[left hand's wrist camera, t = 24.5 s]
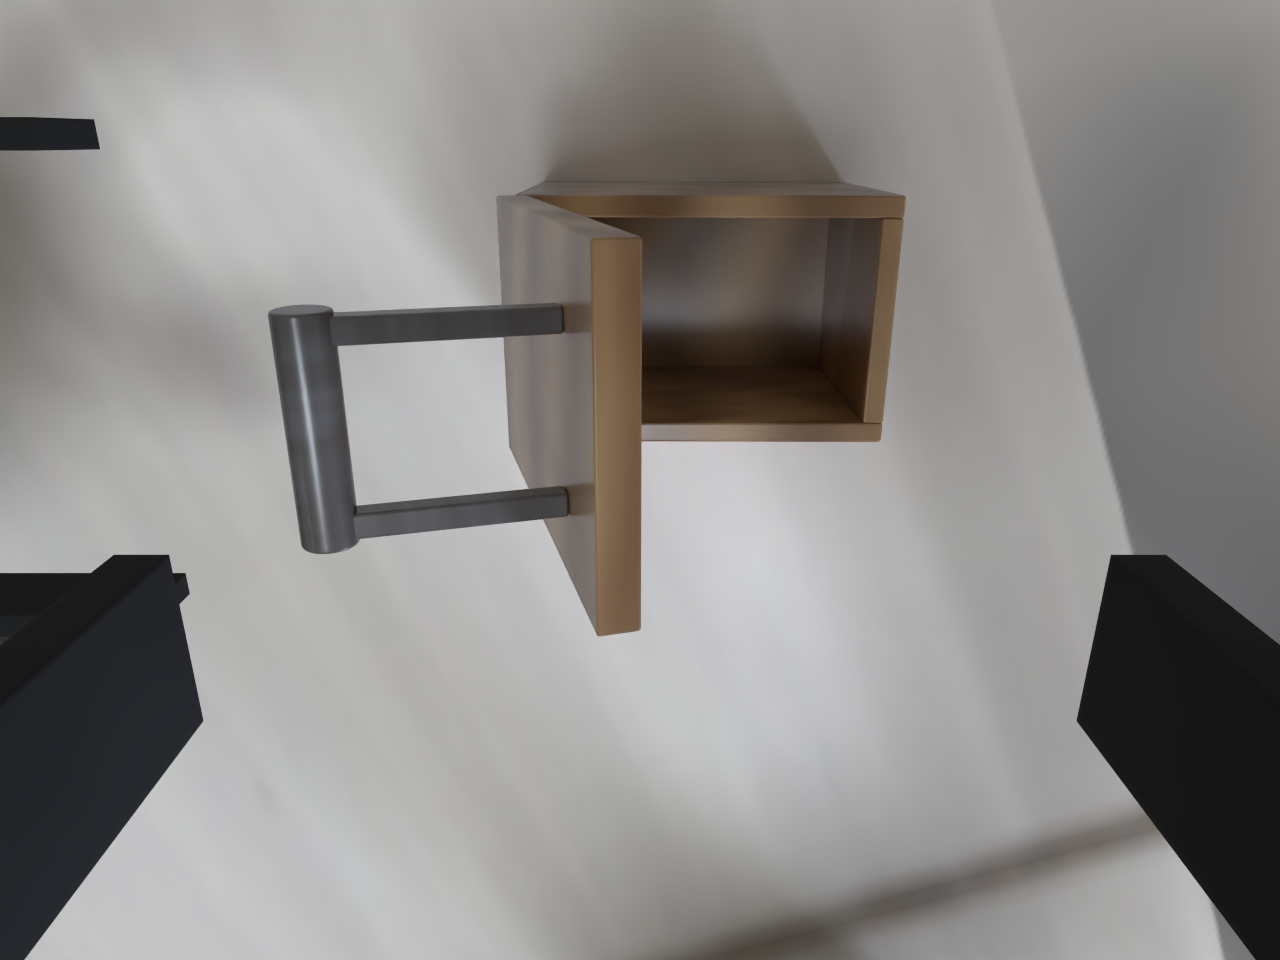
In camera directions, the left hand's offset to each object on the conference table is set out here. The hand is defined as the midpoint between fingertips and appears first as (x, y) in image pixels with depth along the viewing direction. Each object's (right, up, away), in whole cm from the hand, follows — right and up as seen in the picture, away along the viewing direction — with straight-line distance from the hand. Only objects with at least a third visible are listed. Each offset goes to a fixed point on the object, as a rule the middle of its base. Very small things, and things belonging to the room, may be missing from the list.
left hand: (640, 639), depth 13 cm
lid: (-2, +6, +15) cm, 16 cm away
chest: (+3, +12, +32) cm, 34 cm away
